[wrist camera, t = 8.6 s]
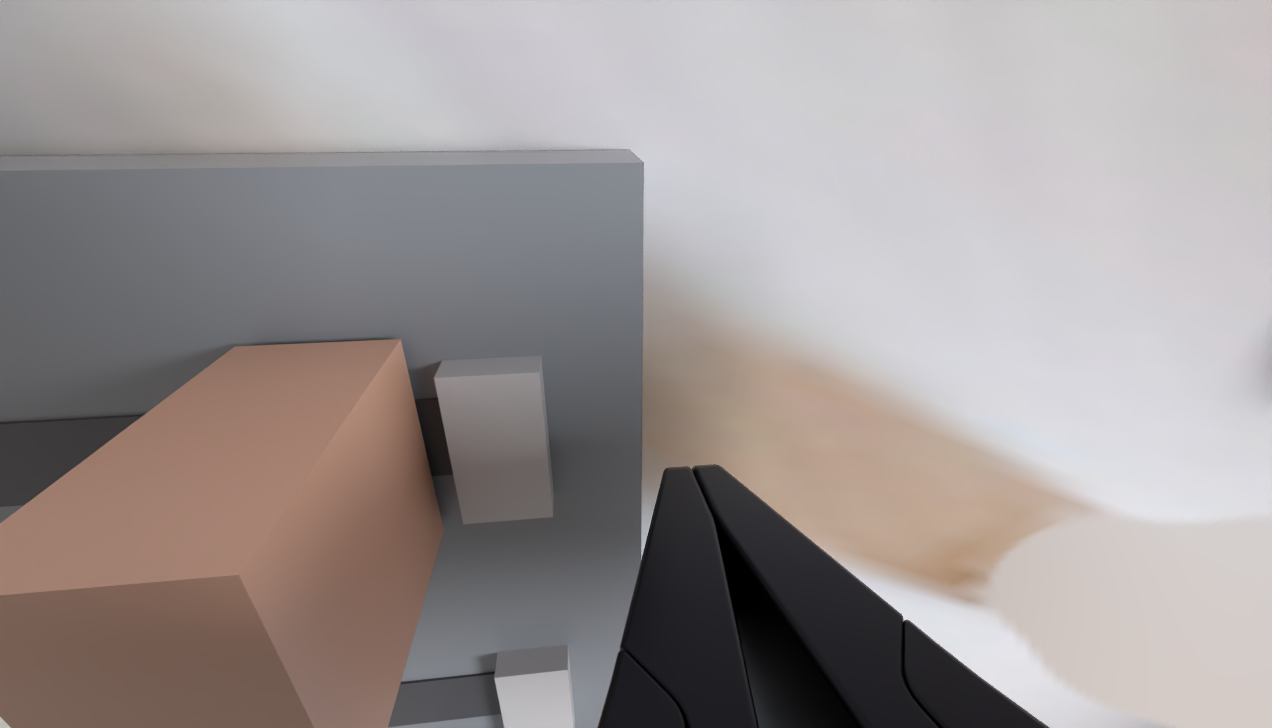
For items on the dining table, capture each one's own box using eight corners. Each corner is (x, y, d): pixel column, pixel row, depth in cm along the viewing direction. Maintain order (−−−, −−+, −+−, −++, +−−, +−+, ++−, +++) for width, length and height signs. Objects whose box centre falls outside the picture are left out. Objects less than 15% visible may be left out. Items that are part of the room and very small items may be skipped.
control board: (629, 149, 9) (649, 167, 7) (632, 815, 20) (640, 908, 18) (-806, 164, 7) (-1440, 196, 5) (63, 895, 18) (-11, 1011, 16)
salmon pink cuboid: (400, 339, 8) (237, 575, 4) (443, 530, 10) (361, 821, 6) (235, 346, 8) (-107, 605, 4) (310, 541, 10) (130, 852, 6)
